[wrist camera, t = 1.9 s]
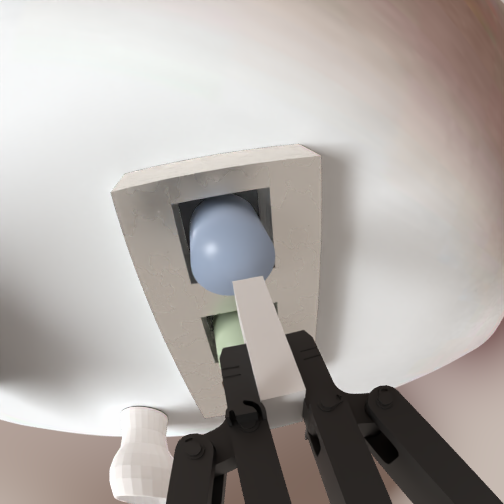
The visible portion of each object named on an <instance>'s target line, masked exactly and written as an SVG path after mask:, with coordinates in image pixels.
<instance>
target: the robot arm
mask: <svg viewBox="0 0 504 504" xmlns="http://www.w3.org/2000/svg"><path fill="white" fill-rule="evenodd" d="M232 283H233V289H234V295H235V300H236V306H237V311H238V317H239V322H240V326H241V331H242V335H243V339H244V344H241V345H236V346H231V347H225V348H223V349H222V352H221V355H220V358H219V359H220V366H221V372H222V378H223V385H224V391H225V397H226V403H227V409H226V413H225V418H226V419H225V421H224V423H223V424H222V425H221V426H219V427H218V428H216V429H215V430H212V431H210V432H208V433H206V434H204V435H201V434H189V435H186V436H184V437H182V439H181V440H179V441H178V444H177V446H176V449H175V454H174V459H173V465H172V470H171V476H170V481H169V487H168V493H167V499H166V504H224V497H225V486H226V476H227V472H229V471H232V470H234V469H236V468H238V473H239V477H240V483H241V487H242V491H243V496H244V500H245V504H291V501H290V497H289V494H288V490H287V487H286V484H285V480H284V477H283V473H282V470H281V466H280V463H279V459H278V456H277V453H276V449H275V445H274V442H273V438H272V435H271V431H270V429H274V428H278V427H282V426H286V425H290V424H294V423H298V422H302V421H303V419H304V422H305V424H306V432H305V440H307V439H308V440H309V443H310V446H311V449H312V452H313V454H314V457H315V460H316V463H317V466H318V469H319V472H320V475H321V478H322V481H323V483H324V486H325V489H326V492H327V495H328V498H329V500H330V503H331V504H392V502H391V500H390V497H389V495H388V492H387V490H386V488H385V485H384V483H383V481H382V479H381V476H380V474H379V472H378V469H377V467H376V464H375V462H374V460H373V458H372V455H373V456H374V457H375V459H376V460H377V461H378V462H379V464H380V465H381V466H382V467H383V468H384V469H385V471H386V472H387V473H388V474H389V476H390V477H391V478H392V479H393V480H394V481H395V483H396V484H397V485H398V486H399V487H400V488H401V490H402V491H403V492H404V493H405V494H406V496H407V497H408V498H409V499H410V500H411V501H412V503H413V504H503V503H502V502H501V500H500V499H499V498H498V497H497V496H496V495H495V494H494V493H493V492H492V491H491V490H490V488H488V486H487V485H486V484H485V483H484V482H483V481H482V480H481V479H480V478H479V477H478V475H477V474H476V473H475V472H474V471H473V470H472V469H471V468H470V467H469V466H468V465H467V464H466V463H465V462H464V460H463V459H462V458H461V457H460V456H459V455H458V454H457V453H456V452H455V451H454V450H453V449H452V448H451V447H450V446H449V444H448V443H447V442H446V441H445V440H444V439H443V438H442V437H441V436H440V435H439V434H438V433H437V432H436V431H435V430H434V428H433V427H432V426H431V425H430V424H429V423H428V422H427V421H426V420H425V419H424V418H423V417H422V416H421V415H420V414H419V413H418V412H417V411H416V409H415V408H414V407H413V406H412V405H411V404H410V403H409V402H408V401H407V400H406V399H405V398H404V397H403V396H402V395H401V394H400V393H399V392H398V391H397V390H396V389H395V388H393V387H390V386H387V385H386V386H379V387H376V388H374V389H373V390H372V391H371V392H370V393H365V394H349V393H345V392H343V391H341V390H339V389H338V388H337V387H336V386H335V384H334V382H333V380H332V378H331V376H330V374H329V372H328V369H327V367H326V365H325V363H324V361H323V358H322V356H321V354H320V352H319V350H318V349H317V346H316V343H315V341H314V339H313V337H312V336H311V335H310V334H308V333H307V332H306V331H305V330H301V331H297V332H293V333H289V334H285V333H284V330H283V328H282V325H281V323H280V320H279V317H278V315H277V312H276V309H275V307H274V304H273V302H272V299H271V296H270V294H269V291H268V288H267V286H266V283H265V281H264V278H263V276H258V277H253V278H248V279H243V280H237V281H232ZM371 454H372V455H371Z"/></svg>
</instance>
